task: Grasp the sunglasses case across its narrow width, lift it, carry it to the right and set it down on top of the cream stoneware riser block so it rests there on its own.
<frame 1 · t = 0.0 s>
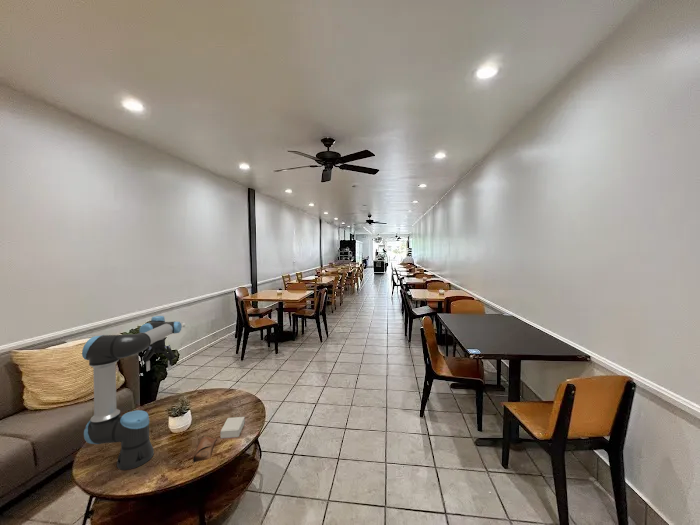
hand: (159, 370, 194), 28 cm above the table, fingers open, 13 cm apart
sunglasses case: (205, 450, 154), on the table
riser: (233, 430, 171), on the table
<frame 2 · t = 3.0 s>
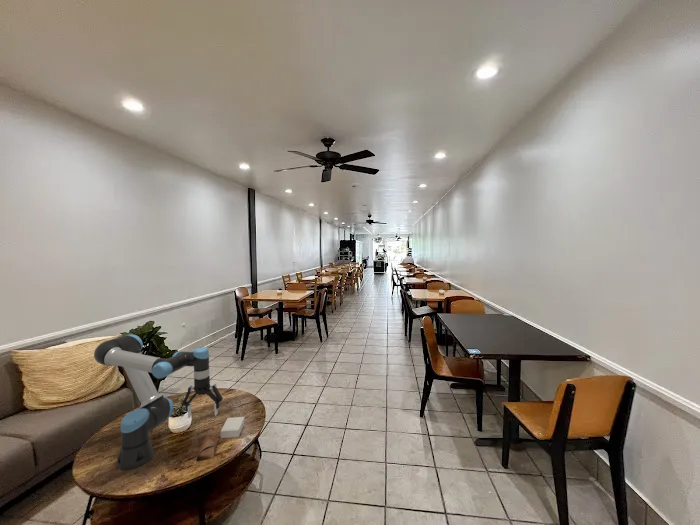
hand: (203, 415, 156), 17 cm above the table, fingers open, 13 cm apart
sunglasses case: (209, 450, 154), on the table
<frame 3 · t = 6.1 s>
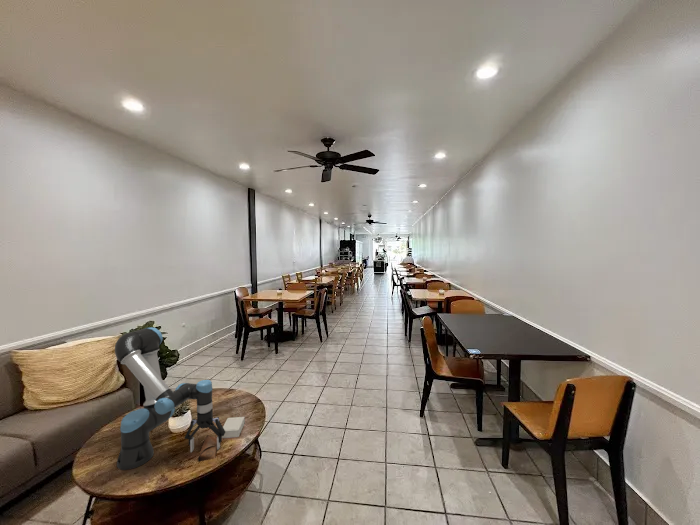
hand: (205, 449, 154), 0 cm above the table, fingers open, 13 cm apart
sunglasses case: (210, 450, 154), on the table, touching gripper
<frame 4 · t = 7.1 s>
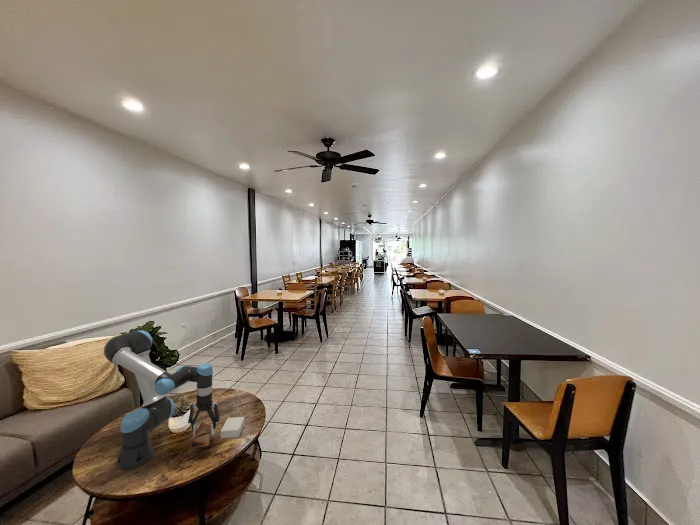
hand: (204, 434, 154), 8 cm above the table, fingers closed on sunglasses case, 8 cm apart
sunglasses case: (204, 436, 154), point 7 cm above the table, touching gripper
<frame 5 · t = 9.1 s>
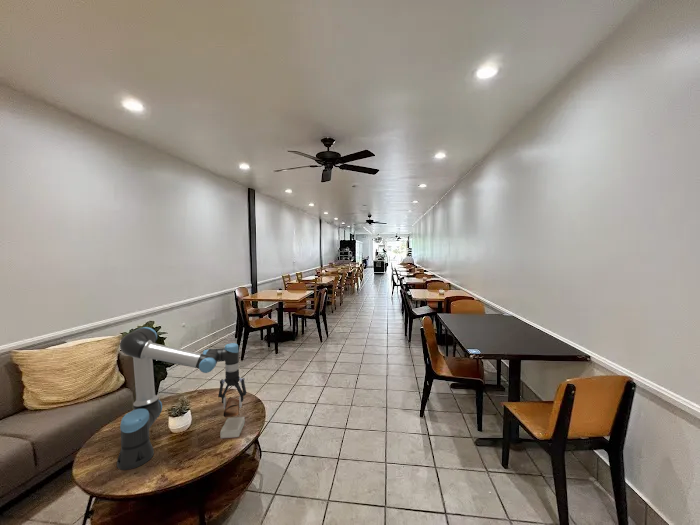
hand: (232, 407, 171), 14 cm above the table, fingers closed on sunglasses case, 8 cm apart
sunglasses case: (233, 409, 171), point 13 cm above the table, touching gripper
when the fingers open (5 cm above the table, at t = 11.3 s): sunglasses case stays where it is, resting on riser.
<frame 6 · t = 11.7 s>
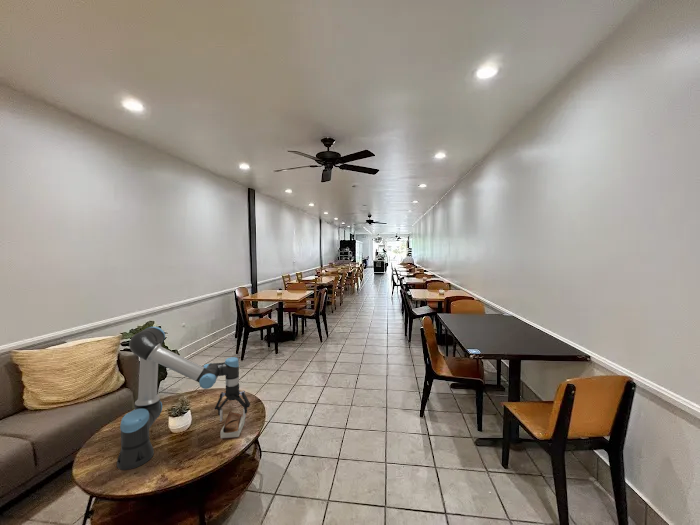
hand: (232, 419, 171), 7 cm above the table, fingers open, 13 cm apart
sunglasses case: (233, 424, 171), point 4 cm above the table, touching riser
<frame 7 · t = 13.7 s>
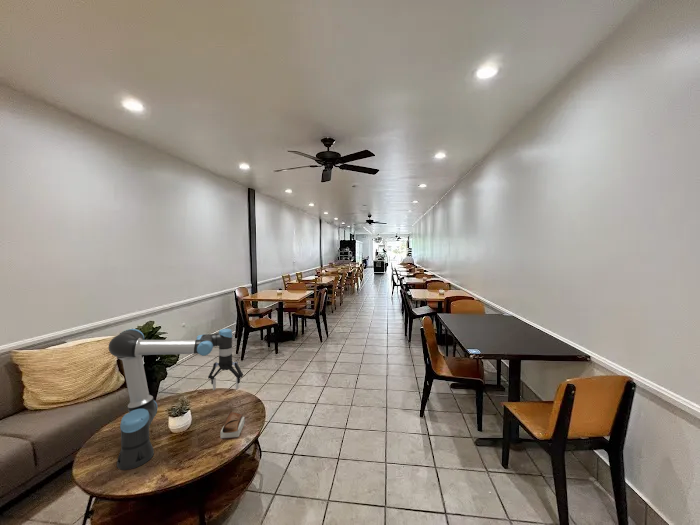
hand: (225, 389, 175), 23 cm above the table, fingers open, 13 cm apart
nothing on the table moved.
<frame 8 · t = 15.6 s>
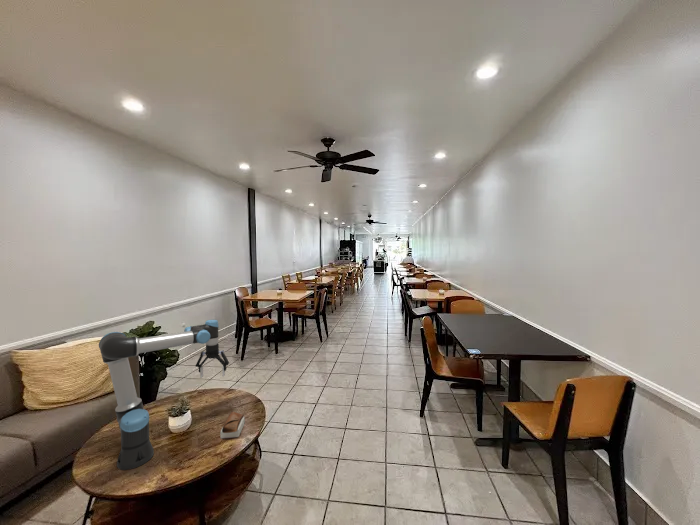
hand: (212, 376, 185), 27 cm above the table, fingers open, 13 cm apart
nothing on the table moved.
at the end: sunglasses case inside the target area on the riser (0.7 cm from its centre), point 4.0 cm above the riser's base; sunglasses case touching riser; the gripper is holding nothing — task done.
